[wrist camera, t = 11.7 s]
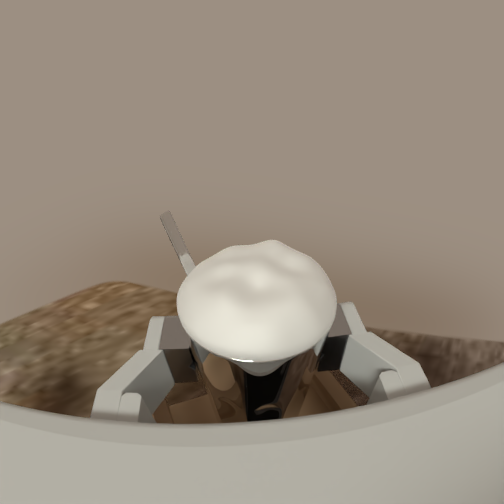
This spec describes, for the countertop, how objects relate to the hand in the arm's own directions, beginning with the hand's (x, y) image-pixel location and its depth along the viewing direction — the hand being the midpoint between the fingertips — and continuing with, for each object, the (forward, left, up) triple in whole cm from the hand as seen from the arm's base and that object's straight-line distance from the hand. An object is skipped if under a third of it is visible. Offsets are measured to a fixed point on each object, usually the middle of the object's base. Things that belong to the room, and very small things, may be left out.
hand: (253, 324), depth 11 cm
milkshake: (+1, +1, -6) cm, 6 cm away
